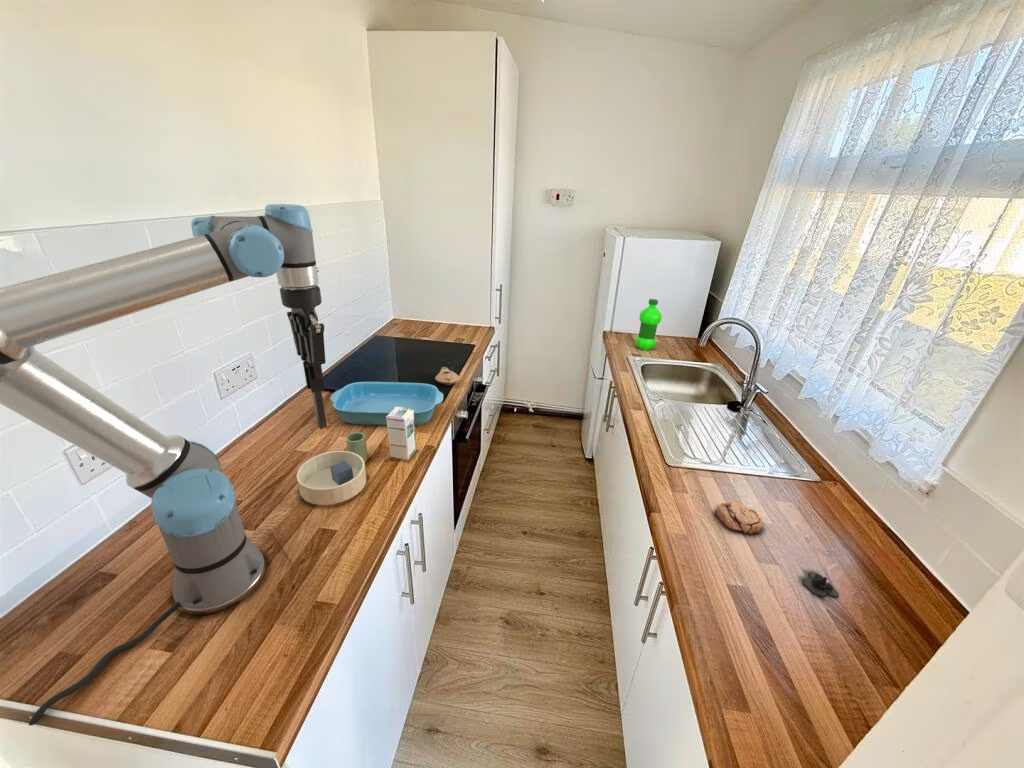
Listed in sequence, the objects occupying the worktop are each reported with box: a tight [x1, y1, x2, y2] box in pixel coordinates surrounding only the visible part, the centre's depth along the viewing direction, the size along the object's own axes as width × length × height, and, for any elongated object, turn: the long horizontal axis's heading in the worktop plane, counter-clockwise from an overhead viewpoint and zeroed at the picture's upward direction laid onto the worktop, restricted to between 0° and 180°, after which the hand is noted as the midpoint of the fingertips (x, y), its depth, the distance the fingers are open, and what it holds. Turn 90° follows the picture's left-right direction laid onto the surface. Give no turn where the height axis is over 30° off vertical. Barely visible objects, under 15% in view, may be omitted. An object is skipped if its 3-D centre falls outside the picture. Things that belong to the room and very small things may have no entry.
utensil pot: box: [345, 431, 368, 462], centre depth 121 cm, size 5×5×8 cm
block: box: [330, 461, 353, 485], centre depth 113 cm, size 4×4×4 cm
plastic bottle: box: [635, 298, 663, 351], centre depth 212 cm, size 10×10×25 cm
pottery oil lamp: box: [434, 366, 460, 386], centre depth 171 cm, size 9×12×7 cm
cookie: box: [716, 500, 764, 535], centre depth 108 cm, size 10×11×3 cm
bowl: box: [296, 450, 367, 506], centre depth 112 cm, size 16×16×6 cm
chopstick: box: [306, 356, 328, 430], centre depth 99 cm, size 2×2×18 cm
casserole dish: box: [329, 381, 444, 426], centre depth 146 cm, size 37×22×7 cm, turn 94°
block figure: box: [802, 571, 840, 599], centre depth 91 cm, size 6×2×6 cm
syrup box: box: [386, 407, 417, 461], centre depth 123 cm, size 6×6×14 cm
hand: (316, 388), depth 98 cm, fingers closed on chopstick, 2 cm apart
